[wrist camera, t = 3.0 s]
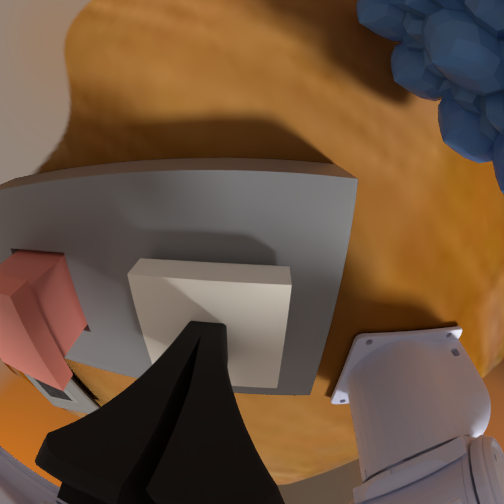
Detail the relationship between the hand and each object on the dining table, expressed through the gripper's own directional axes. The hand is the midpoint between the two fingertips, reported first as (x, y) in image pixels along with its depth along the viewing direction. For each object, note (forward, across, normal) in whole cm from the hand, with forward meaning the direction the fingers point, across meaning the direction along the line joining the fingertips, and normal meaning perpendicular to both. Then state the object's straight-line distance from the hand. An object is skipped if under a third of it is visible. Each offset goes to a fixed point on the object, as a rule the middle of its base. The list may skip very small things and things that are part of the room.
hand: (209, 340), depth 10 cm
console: (+5, +5, 0) cm, 7 cm away
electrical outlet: (+6, +21, +14) cm, 26 cm away
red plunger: (+3, +10, 0) cm, 10 cm away
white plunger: (+5, 0, 0) cm, 5 cm away
